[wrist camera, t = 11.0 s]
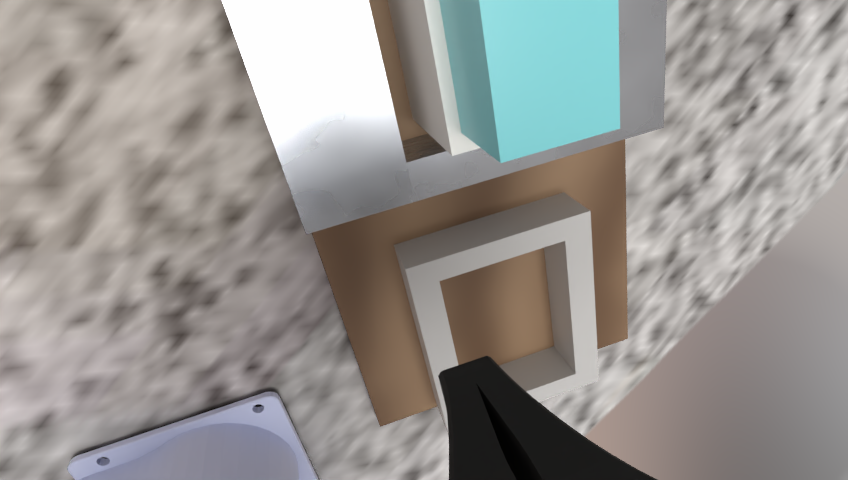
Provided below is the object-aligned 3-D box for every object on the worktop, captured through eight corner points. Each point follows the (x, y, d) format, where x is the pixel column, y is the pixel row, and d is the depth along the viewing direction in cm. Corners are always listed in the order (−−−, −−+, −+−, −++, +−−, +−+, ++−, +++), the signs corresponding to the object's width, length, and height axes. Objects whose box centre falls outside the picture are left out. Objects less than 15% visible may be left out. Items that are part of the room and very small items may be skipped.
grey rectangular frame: (436, 402, 26) (448, 435, 24) (394, 244, 22) (405, 269, 20) (576, 353, 27) (598, 380, 25) (564, 192, 23) (590, 210, 21)
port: (302, 207, 20) (306, 234, 18) (182, -133, 15) (166, -154, 12) (624, 114, 22) (663, 127, 19) (620, -219, 16) (672, -251, 14)
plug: (413, 119, 19) (488, 190, 12) (374, -60, 17) (445, -97, 10) (509, 92, 20) (634, 146, 13) (489, -85, 17) (634, -137, 10)
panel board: (377, 415, 26) (380, 426, 26) (179, -147, 15) (175, -154, 14) (619, 329, 28) (627, 338, 28) (606, -230, 17) (620, -239, 16)
